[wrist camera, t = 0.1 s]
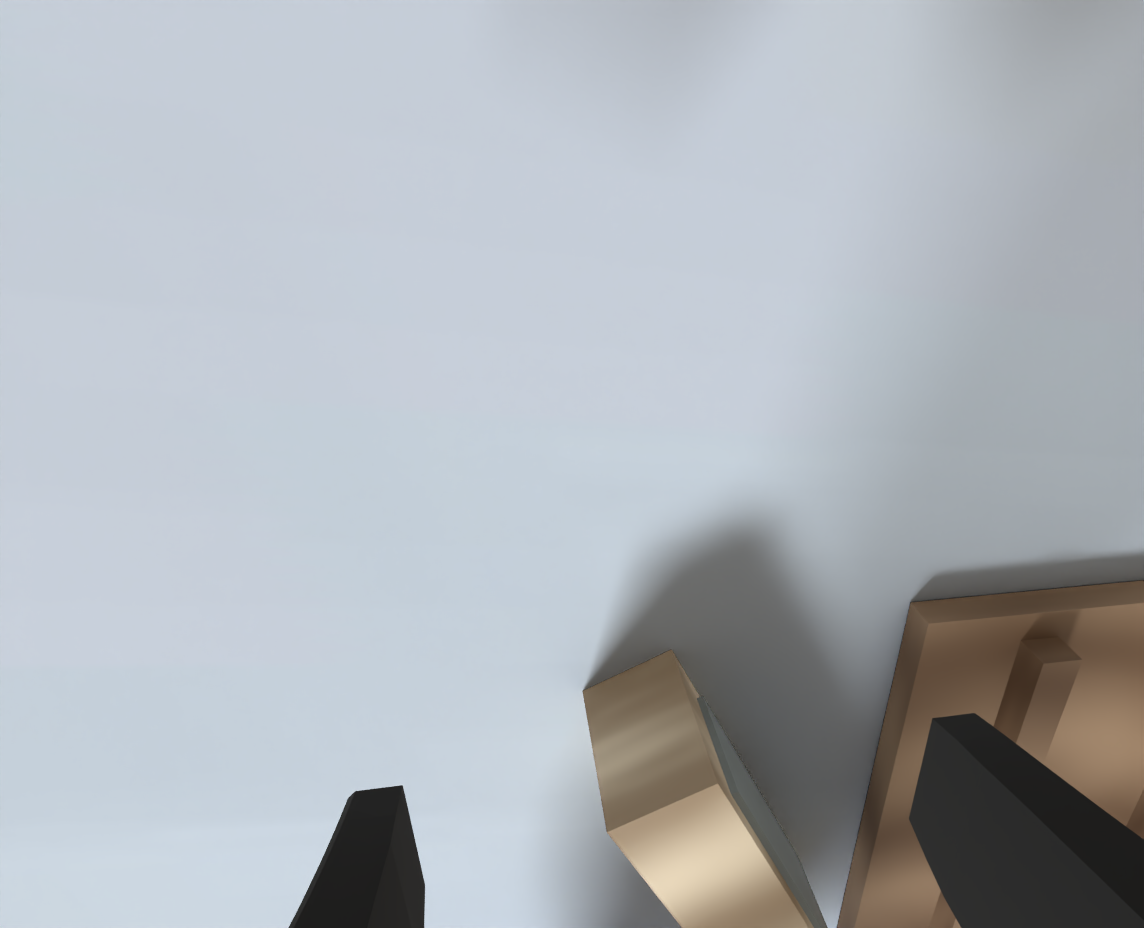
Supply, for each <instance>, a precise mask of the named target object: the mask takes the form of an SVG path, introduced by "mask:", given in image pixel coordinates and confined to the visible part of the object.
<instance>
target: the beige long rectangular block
mask: <svg viewBox="0 0 1144 928" xmlns="http://www.w3.org/2000/svg"><path fill="white" fill-rule="evenodd" d="M583 696H584V702H585V708H586V714H587V719H588V725H589V731H590V737H591V743H592V748H593V754H594V760H595V766H596V772H597V777H598V783H599V789H600V795H601V801H602V806H603V812H604V818H605V824H606V830H607V833H608V834H609V836H610V837H611V838H612V839H613V841H614V842H615V843H616V844H617V846H618V847H619V848H620V850H621V851H622V852H623V853H624V855H625V856H626V857H627V858H628V860H629V861H630V862H631V864H632V865H633V866H634V867H635V869H636V870H637V871H638V872H639V874H640V875H641V876H642V878H643V879H644V880H645V881H646V883H647V884H648V885H649V886H650V888H651V889H652V890H653V892H654V893H655V894H656V895H657V897H658V898H659V899H660V900H661V902H662V903H663V904H664V906H665V907H666V908H667V909H668V911H669V912H670V913H671V914H672V916H673V917H674V918H675V920H676V921H677V922H678V923H679V925H680V926H681V927H682V928H827V925H826V923H825V921H824V918H823V916H822V913H821V911H820V909H819V906H818V904H817V901H816V899H815V897H814V894H813V892H812V889H811V887H810V885H809V882H808V880H807V877H806V875H805V873H804V870H803V868H802V865H801V863H800V861H799V858H798V856H797V854H796V853H795V851H794V849H793V847H792V846H791V844H790V842H789V841H788V839H787V837H786V836H785V834H784V832H783V831H782V829H781V827H780V825H779V824H778V822H777V820H776V819H775V817H774V815H773V814H772V812H771V810H770V809H769V807H768V805H767V803H766V802H765V800H764V798H763V797H762V795H761V793H760V792H759V790H758V788H757V787H756V785H755V783H754V781H753V780H752V778H751V776H750V775H749V773H748V771H747V770H746V768H745V766H744V765H743V763H742V761H741V759H740V758H739V756H738V754H737V753H736V751H735V749H734V748H733V746H732V744H731V743H730V741H729V739H728V737H727V736H726V734H725V732H724V731H723V729H722V727H721V726H720V724H719V722H718V721H717V719H716V717H715V715H714V714H713V712H712V710H711V709H710V707H709V705H708V704H707V702H706V700H705V699H704V697H703V696H701V697H700V696H699V695H698V693H697V691H696V690H695V688H694V686H693V685H692V683H691V681H690V679H689V678H688V676H687V674H686V673H685V671H684V669H683V668H682V666H681V664H680V663H679V661H678V659H677V658H676V656H675V654H674V653H673V651H672V649H671V650H669V651H667V652H665V653H663V654H661V655H659V656H656V657H654V658H652V659H650V660H648V661H646V662H644V663H641V664H639V665H637V666H635V667H633V668H631V669H629V670H626V671H624V672H622V673H620V674H618V675H616V676H614V677H611V678H609V679H607V680H605V681H603V682H601V683H599V684H596V685H594V686H592V687H590V688H588V689H586V690H584V691H583Z"/></svg>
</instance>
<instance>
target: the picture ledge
mask: <svg viewBox="0 0 1144 928" xmlns="http://www.w3.org/2000/svg"><path fill="white" fill-rule="evenodd" d="M970 713H975V714H977V715H978V716H980V717H981V718H982V719H984V720H985V721H986V722H988V723H989V724H991V725H992V726H993V727H995V728H996V729H997V730H999V731H1000V732H1001V733H1003V734H1004V735H1005V736H1007V737H1008V738H1009V739H1011V740H1012V741H1013V742H1015V743H1016V744H1017V745H1019V746H1020V747H1021V748H1022V749H1024V750H1025V751H1026V752H1028V753H1029V754H1030V755H1032V756H1033V757H1034V758H1036V759H1037V760H1038V761H1040V762H1041V763H1042V764H1043V765H1045V766H1046V767H1047V768H1049V769H1050V770H1051V771H1053V772H1054V773H1055V774H1057V775H1058V776H1059V777H1061V778H1062V779H1063V780H1065V781H1066V782H1067V783H1069V784H1070V785H1071V786H1073V787H1074V788H1075V789H1076V790H1078V791H1079V792H1080V793H1082V794H1083V795H1084V796H1086V797H1087V798H1088V799H1090V800H1091V801H1092V802H1094V803H1095V804H1096V805H1098V806H1099V807H1100V808H1102V809H1103V810H1104V811H1106V812H1107V813H1109V814H1110V815H1111V816H1113V817H1114V818H1115V819H1117V820H1118V821H1119V822H1121V823H1122V824H1123V825H1125V826H1126V827H1128V828H1129V829H1130V830H1132V831H1133V832H1134V833H1136V834H1137V835H1138V836H1140V837H1141V838H1143V839H1144V580H1142V581H1132V582H1121V583H1111V584H1100V585H1089V586H1079V587H1068V588H1058V589H1047V590H1037V591H1026V592H1016V593H1005V594H995V595H984V596H973V597H963V598H952V599H942V600H931V601H921V602H911V603H910V608H909V612H908V616H907V621H906V625H905V630H904V634H903V639H902V643H901V647H900V652H899V656H898V661H897V665H896V669H895V674H894V678H893V683H892V687H891V692H890V696H889V700H888V705H887V709H886V714H885V718H884V722H883V727H882V731H881V736H880V740H879V745H878V749H877V753H876V758H875V762H874V767H873V771H872V775H871V780H870V784H869V789H868V793H867V798H866V802H865V806H864V811H863V815H862V820H861V824H860V828H859V833H858V837H857V842H856V846H855V851H854V855H853V859H852V864H851V868H850V873H849V877H848V881H847V886H846V890H845V895H844V899H843V904H842V908H841V912H840V917H839V921H838V926H837V928H961V926H960V925H959V923H958V921H957V919H956V918H955V916H954V914H953V912H952V911H951V909H950V907H949V905H948V904H947V902H946V900H945V898H944V896H943V894H942V892H941V890H940V888H939V886H938V884H937V881H936V879H935V877H934V875H933V873H932V871H931V868H930V866H929V864H928V862H927V860H926V857H925V855H924V853H923V851H922V848H921V846H920V844H919V841H918V839H917V837H916V834H915V832H914V830H913V827H912V825H911V823H910V821H909V815H910V811H911V807H912V803H913V798H914V794H915V790H916V786H917V781H918V777H919V773H920V769H921V764H922V760H923V756H924V751H925V747H926V743H927V739H928V734H929V730H930V726H931V722H932V718H938V717H946V716H954V715H962V714H970Z"/></svg>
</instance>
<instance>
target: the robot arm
mask: <svg viewBox="0 0 1144 928" xmlns="http://www.w3.org/2000/svg"><path fill="white" fill-rule="evenodd" d="M909 821H910V823H911V825H912V827H913V830H914V832H915V834H916V837H917V839H918V841H919V844H920V846H921V848H922V851H923V853H924V855H925V857H926V860H927V862H928V864H929V866H930V868H931V871H932V873H933V875H934V877H935V879H936V881H937V884H938V886H939V888H940V890H941V892H942V894H943V896H944V898H945V900H946V902H947V904H948V905H949V907H950V909H951V911H952V912H953V914H954V916H955V918H956V919H957V921H958V923H959V925H960V926H961V928H1144V839H1143V838H1141V837H1140V836H1138V835H1137V834H1136V833H1134V832H1133V831H1132V830H1130V829H1129V828H1128V827H1126V826H1125V825H1123V824H1122V823H1121V822H1119V821H1118V820H1117V819H1115V818H1114V817H1113V816H1111V815H1110V814H1109V813H1107V812H1106V811H1104V810H1103V809H1102V808H1100V807H1099V806H1098V805H1096V804H1095V803H1094V802H1092V801H1091V800H1090V799H1088V798H1087V797H1086V796H1084V795H1083V794H1082V793H1080V792H1079V791H1078V790H1076V789H1075V788H1074V787H1073V786H1071V785H1070V784H1069V783H1067V782H1066V781H1065V780H1063V779H1062V778H1061V777H1059V776H1058V775H1057V774H1055V773H1054V772H1053V771H1051V770H1050V769H1049V768H1047V767H1046V766H1045V765H1043V764H1042V763H1041V762H1040V761H1038V760H1037V759H1036V758H1034V757H1033V756H1032V755H1030V754H1029V753H1028V752H1026V751H1025V750H1024V749H1022V748H1021V747H1020V746H1019V745H1017V744H1016V743H1015V742H1013V741H1012V740H1011V739H1009V738H1008V737H1007V736H1005V735H1004V734H1003V733H1001V732H1000V731H999V730H997V729H996V728H995V727H993V726H992V725H991V724H989V723H988V722H986V721H985V720H984V719H982V718H981V717H980V716H978V715H977V714H975V713H970V714H962V715H954V716H946V717H938V718H932V722H931V726H930V730H929V734H928V739H927V743H926V747H925V751H924V756H923V760H922V764H921V769H920V773H919V777H918V781H917V786H916V790H915V794H914V798H913V803H912V807H911V811H910V815H909ZM424 906H425V883H424V879H423V874H422V870H421V865H420V861H419V856H418V852H417V847H416V843H415V839H414V834H413V830H412V825H411V821H410V816H409V812H408V807H407V803H406V798H405V794H404V789H403V785H402V786H394V787H386V788H378V789H370V790H362V791H355V792H354V793H353V794H352V795H351V796H350V797H349V798H348V800H347V802H346V805H345V807H344V810H343V812H342V815H341V817H340V820H339V822H338V824H337V827H336V829H335V831H334V834H333V836H332V838H331V840H330V843H329V845H328V847H327V849H326V852H325V854H324V856H323V858H322V860H321V863H320V865H319V867H318V869H317V871H316V873H315V875H314V878H313V880H312V882H311V884H310V886H309V888H308V890H307V892H306V894H305V896H304V898H303V901H302V903H301V905H300V907H299V909H298V911H297V913H296V915H295V917H294V918H293V920H292V922H291V924H290V926H289V928H424Z"/></svg>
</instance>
